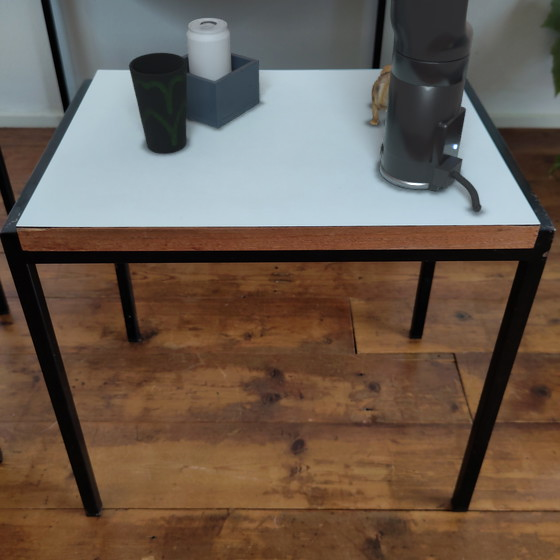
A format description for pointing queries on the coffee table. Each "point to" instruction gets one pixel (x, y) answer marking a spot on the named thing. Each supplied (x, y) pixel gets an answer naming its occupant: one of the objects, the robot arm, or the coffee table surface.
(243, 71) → the open box
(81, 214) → the coffee table surface
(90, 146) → the coffee table surface
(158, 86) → the cup
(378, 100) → the lion figurine
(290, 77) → the coffee table surface
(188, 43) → the beverage can
